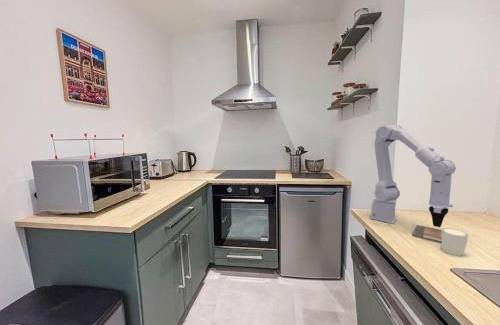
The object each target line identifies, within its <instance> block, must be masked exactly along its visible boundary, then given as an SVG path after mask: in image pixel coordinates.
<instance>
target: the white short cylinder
mask: <svg viewBox="0 0 500 325" xmlns="http://www.w3.org/2000/svg"><path fill="white" fill-rule="evenodd" d="M440 230H441V236H442V243H441V250H442V251H443V252H445V253H446V254H449V255H454V256H458V257H459V256H460V257H461V256H464V255H465V250H466V247H467V242H468V238H469V234H468V233H467V232H465V231H463V230H459V229H455V228H452V227H451V228H450V227H444V228H440Z"/></svg>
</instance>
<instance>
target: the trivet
mask: <svg viewBox="0 0 500 325" xmlns="http://www.w3.org/2000/svg"><path fill="white" fill-rule="evenodd" d="M425 228H428V229H433V230H438V231H441V229H438V228H434V227H429V226H424V225H421V224H416V225H415V228H414V230H413V232H412V234H411V237H415V238H419V239H423V240H428V241H432V242H435V243H440V244H442V241H438V240H433V239H429V238H425V237H423V233H424V230H425Z"/></svg>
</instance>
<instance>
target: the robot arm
mask: <svg viewBox="0 0 500 325" xmlns="http://www.w3.org/2000/svg"><path fill="white" fill-rule="evenodd" d="M374 140H375V141H374V152H375V159H376V160H375V161H376V167H377V175H378V182H377V183H376V184H375V191H374V197H375V198H374V199H372V202H371V213H370V220H376V221H380V222H384V223H389V224H395V223H396V221H397V219H398V217H396V203H397V199H398V198H399V197H400V195H401V192H400V190H399V188H398V184H397V183H396V182H395V180H394V179H393V173H392V166H391V159H390V158H391V157H390V150H389V146H390V145H391V144H392V143H393V142H396V141H400V142H401V143H403V145H405V146H407V147H408V148H409V149H411V151H413V152H414V153H415V154H414V155H415V157H416V159H418V160H419V161H420V162H421V163H422V164H423V165H424V166H426V167H427V168H428V171H429V173H430V175H431V180H430V182H431V184H430V191H429V192H430V193H429V201H428V204H429V205H430V206H429V207H428V210H429V213H430V215H431V219H432V226H433V227H437V228H441V226H442V224H443V221H444V219H445V217H446V215H447V214H448V213H449V208H454V205H453V204H450V197H451V187H452V177H453V176H452V175H453V174H454V173H455V172H456V169H457V168H456V165H455V163H454V162H453V161H452V160H450V159H445V158H446V157H444V156H443V155H440V154H438V153H437V152H436V151H435V148H434V147H433V146H432V147H431V146H426V145H425V146H424V145H422V144H421V143H420V142H419V141H418V140H417V139H415V138H414V137H413V136H412V135H411V134H410V133H409V132H408V131H407V130H406V128H404V127H402V126H401V125H399V124H395V125H394V124H393V125H391V124H389V125H388V124H383V125H380V126H379V127H378V128H377V129H376V131H375V139H374Z"/></svg>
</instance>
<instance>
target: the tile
mask: <svg viewBox="0 0 500 325" xmlns="http://www.w3.org/2000/svg"><path fill="white" fill-rule="evenodd" d="M423 237H425V238H429V239H433V240H438V241H442V236H441V231H438V230H433V229H428V228H425V230H424V233H423Z"/></svg>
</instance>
